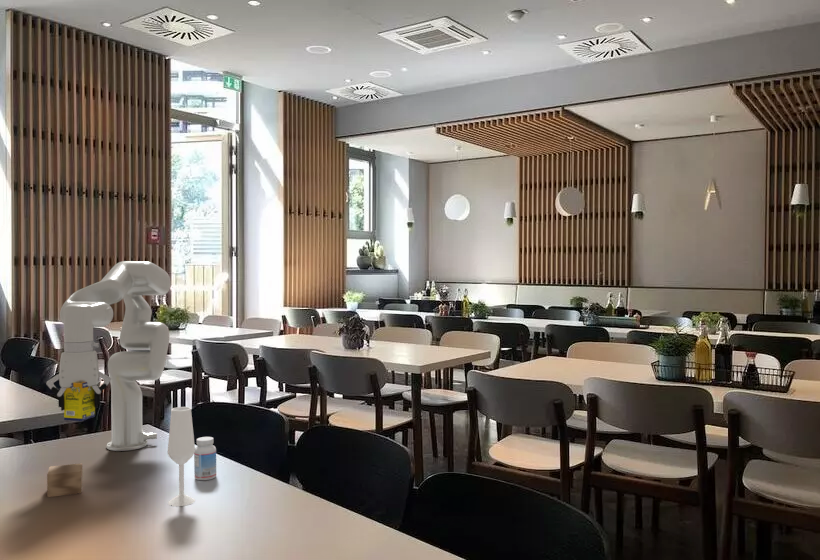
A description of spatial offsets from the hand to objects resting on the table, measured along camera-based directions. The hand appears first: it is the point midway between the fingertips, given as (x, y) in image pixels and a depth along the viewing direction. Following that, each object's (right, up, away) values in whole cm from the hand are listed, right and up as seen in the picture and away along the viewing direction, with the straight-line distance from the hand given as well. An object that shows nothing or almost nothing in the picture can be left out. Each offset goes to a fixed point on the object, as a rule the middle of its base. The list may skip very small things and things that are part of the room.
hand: (79, 408), depth 197 cm
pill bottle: (+36, -20, 0) cm, 41 cm away
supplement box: (0, -3, 0) cm, 3 cm away
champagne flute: (+36, -20, -20) cm, 46 cm away
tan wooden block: (+2, -20, -12) cm, 23 cm away
